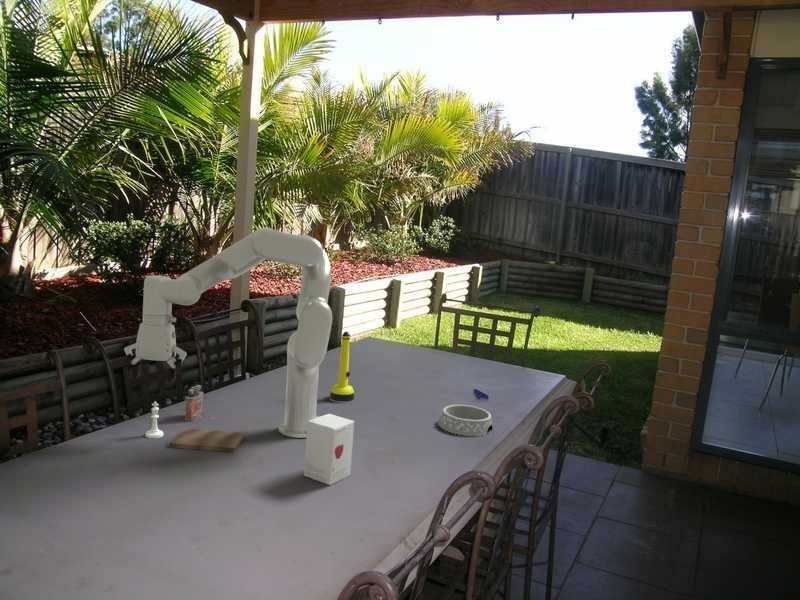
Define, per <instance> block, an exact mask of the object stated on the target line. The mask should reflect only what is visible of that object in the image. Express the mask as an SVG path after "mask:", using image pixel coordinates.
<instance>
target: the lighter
mask: <svg viewBox="0 0 800 600" xmlns="http://www.w3.org/2000/svg"><path fill="white" fill-rule="evenodd" d="M200 390H201V391H200ZM203 396H204V391H202V385H200V384H198V385H194V386H191V388H190V389H188V395H186V396H185V397H184V398H185V399H184V400H185V416H184V422H186V421H188V423H191V421H192V422H195V421H197V420H198V418H199V417H200V418H202V416H203V414H204V412H203ZM200 418H199V419H200ZM196 419H197V420H196ZM194 420H195V421H194Z"/></svg>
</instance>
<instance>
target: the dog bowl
mask: <svg viewBox="0 0 800 600" xmlns="http://www.w3.org/2000/svg"><path fill="white" fill-rule="evenodd" d="M492 421H493V420H492V415H491V413H490V412H489V411H488V410H485V409H483V408H481V407H478V406H474V405H470V404H469V405H467V404H451V405H447V406H445V407H443V409H442V412H441V414H440V417H439V420H438V422H437V423H438V424H437V425H438V427H439V426H440V427H441V428H442V429H441V428H440V427H439V428H440V429H441V430H443V429H444V430H443V431H445V430H446V431H445V432H447V431H448V433H449V432H451V434H453V433H454V434H453V435H456V434H458V436H462V435H463V437H481V435H484V436H487V434H488V430H489V428H491V429H492V430H493V422H492Z"/></svg>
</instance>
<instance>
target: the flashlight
mask: <svg viewBox="0 0 800 600" xmlns="http://www.w3.org/2000/svg"><path fill="white" fill-rule="evenodd" d="M351 338H352V337H351V334H350V332H348V331H344V332H343V333H342V335H341V347H340V357H339V369H338V379H337V380H338V382H337V384H333V386H332V388H331V389H330V395H329V400H330V401H331V402H334V403H341V404H349V403H352V402H354V401H355V390H354V388H353V386H352V385H349V377H350V376H351V372H350V371H349V366H350V364H349V363H350V343H351Z"/></svg>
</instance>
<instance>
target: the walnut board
mask: <svg viewBox="0 0 800 600" xmlns="http://www.w3.org/2000/svg"><path fill="white" fill-rule="evenodd" d="M245 434H246V432H240V431H239V432H238V431H237V432H236V431H224V430H213V429H211V430H210V429H199V428H188V427H187V428H185V427H184V428H182V429H181V430H180V431H179V433H177V434H176V435H175V436H174V438H172V440H170V442H169V444H168V447H169V448H175V449H189V450H201V451H202V450H203V451H204V450H205V451H214V450H215V451H216V452H227V451H232V452H231V453H235V452H236V450H237V449H238V447H239V446H240V444H241V443H242V441H243V440H244V438H245V437H246V435H245ZM244 436H245V437H244ZM242 439H243V440H242ZM240 442H241V443H240ZM238 445H239V446H238ZM236 448H237V449H236ZM234 451H235V452H234Z"/></svg>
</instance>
